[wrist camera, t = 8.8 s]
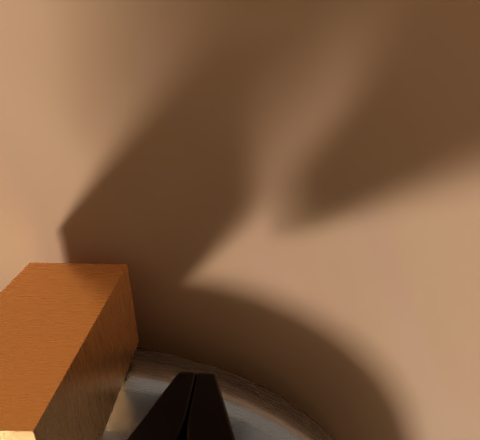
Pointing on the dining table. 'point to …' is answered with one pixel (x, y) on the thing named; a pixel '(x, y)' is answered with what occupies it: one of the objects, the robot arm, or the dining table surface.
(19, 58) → the dining table surface
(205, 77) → the dining table surface
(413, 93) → the dining table surface
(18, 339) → the platter
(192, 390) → the robot arm
